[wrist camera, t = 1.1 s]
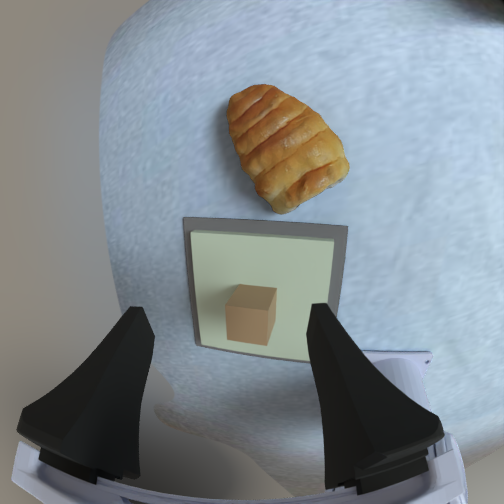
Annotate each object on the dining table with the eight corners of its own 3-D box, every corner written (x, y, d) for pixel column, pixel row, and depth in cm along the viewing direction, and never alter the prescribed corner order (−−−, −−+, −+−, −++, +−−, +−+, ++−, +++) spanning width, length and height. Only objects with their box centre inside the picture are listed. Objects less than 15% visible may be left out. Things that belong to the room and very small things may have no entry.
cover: (318, 356, 23) (314, 389, 19) (204, 339, 25) (186, 366, 21) (333, 238, 19) (336, 258, 15) (194, 229, 22) (168, 244, 18)
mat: (327, 363, 23) (327, 364, 23) (197, 344, 26) (196, 345, 26) (347, 226, 19) (348, 226, 19) (184, 217, 22) (183, 217, 22)
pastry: (212, 122, 19) (190, 115, 16) (281, 70, 17) (272, 51, 13) (283, 218, 20) (275, 230, 17) (358, 169, 18) (367, 170, 14)
